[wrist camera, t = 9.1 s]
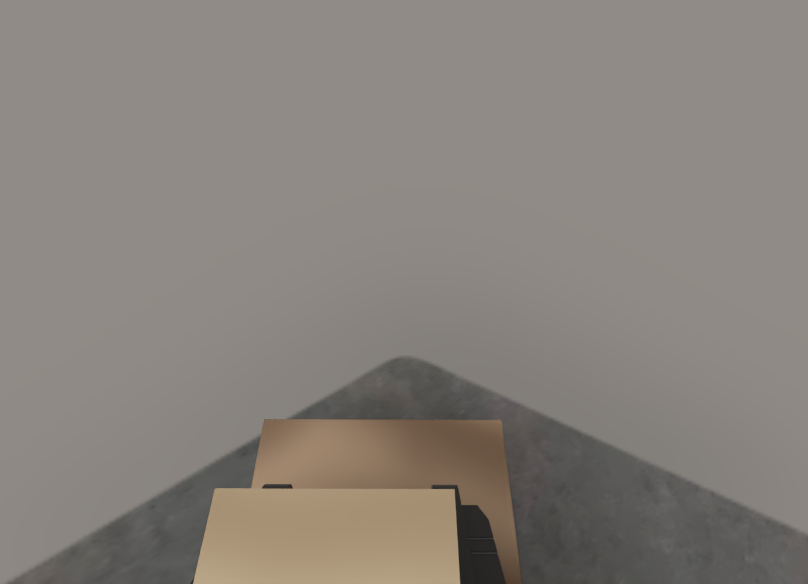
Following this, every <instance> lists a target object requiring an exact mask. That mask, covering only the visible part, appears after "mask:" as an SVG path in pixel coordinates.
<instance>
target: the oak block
mask: <svg viewBox="0 0 808 584" xmlns="http://www.w3.org/2000/svg"><path fill="white" fill-rule="evenodd" d="M193 584H460V572H459V555H458V538H457V521H456V505H455V489H236V488H215V491H214V495H213V500H212V504H211V508H210V513H209V517H208V521H207V526H206V530H205V534H204V539H203V543H202V547H201V552H200V556H199V560H198V565H197V569H196V573H195V578H194V582H193Z"/></svg>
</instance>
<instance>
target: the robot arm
mask: <svg viewBox="0 0 808 584" xmlns="http://www.w3.org/2000/svg"><path fill="white" fill-rule="evenodd" d="M262 489H293V487H292V485H291V484H265V485H263V487H262ZM431 489H455V505H456V521H457V538H458V555H459V572H460V584H506V582H505V578H504V575H503V571H502V567H501V563H500V560H499V556H498V554H497V548H496V545H495V541H494V539H493V533H492V530H491V526H490V522H489V519H488V518H487V517H486V515H485V514H484V513H483V512H482V510H481V509H480V508H479V506H478V505H461V500H460V494H459V489H458V486H457V485H432V488H431ZM194 578H195V577H194ZM193 582H194V579H193V580H192V582H191V584H193Z"/></svg>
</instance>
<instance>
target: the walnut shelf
mask: <svg viewBox="0 0 808 584" xmlns="http://www.w3.org/2000/svg"><path fill="white" fill-rule="evenodd" d="M265 484H291V485H292V487H293V489H431V488H432V485H457V486H458V489H459V494H460V500H461V505H478V506H479V508H480V509H481V510H482V512H483V513H484V514H485V515H486V517H487V518H488V519H489V522H490V526H491V530H492V533H493V539H494V541H495V545H496V548H497V554H498V556H499V560H500V563H501V567H502V571H503V575H504V578H505V582H506V584H522V579H521V571H520V563H519V556H518V548H517V540H516V532H515V524H514V516H513V508H512V500H511V492H510V485H509V477H508V469H507V461H506V453H505V445H504V437H503V429H502V421H501V420H314V419H279V420H278V419H264V423H263V428H262V433H261V439H260V444H259V449H258V455H257V460H256V465H255V471H254V476H253V482H252V487H251V489H262V487H263V485H265Z"/></svg>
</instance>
